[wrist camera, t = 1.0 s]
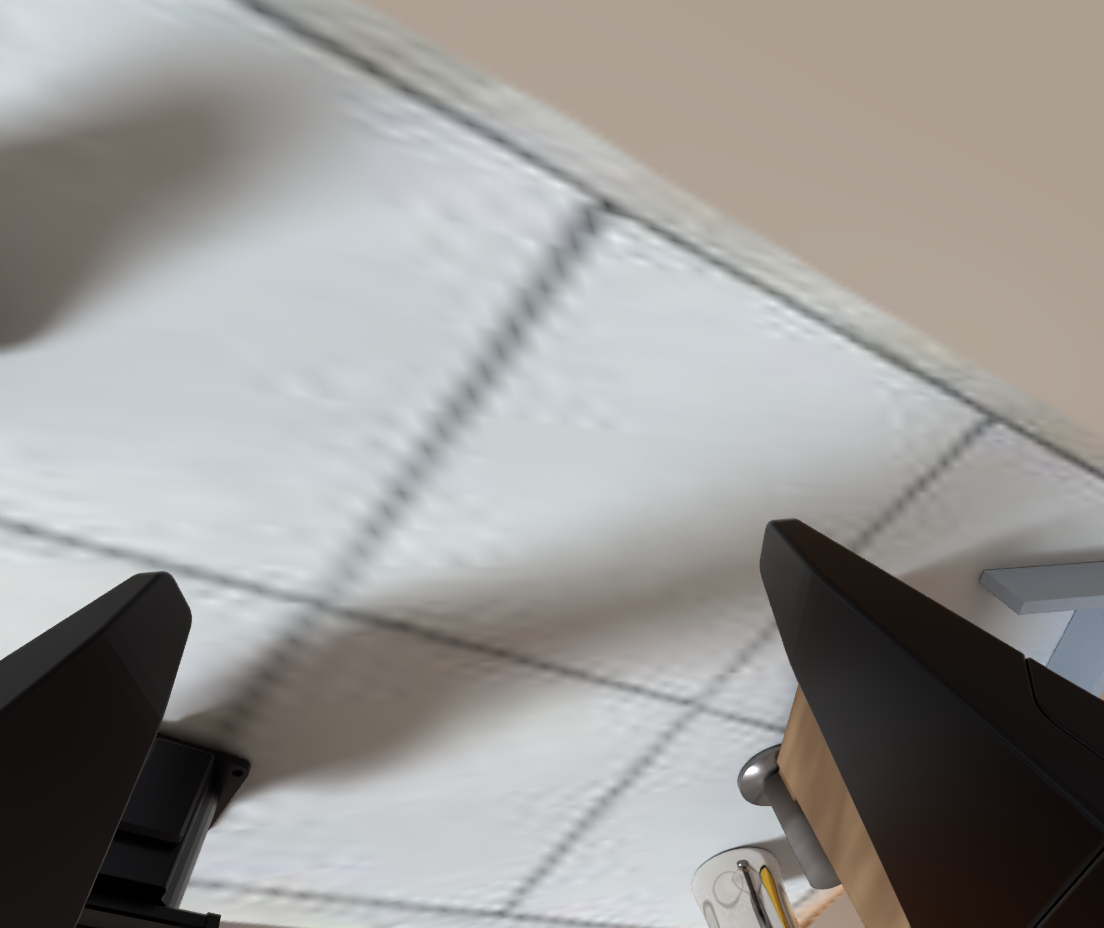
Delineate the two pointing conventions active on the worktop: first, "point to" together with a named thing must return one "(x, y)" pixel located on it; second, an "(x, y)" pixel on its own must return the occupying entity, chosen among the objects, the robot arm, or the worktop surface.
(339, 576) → the worktop surface
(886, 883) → the brown wooden board
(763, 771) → the base
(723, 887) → the beer glass
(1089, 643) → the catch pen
